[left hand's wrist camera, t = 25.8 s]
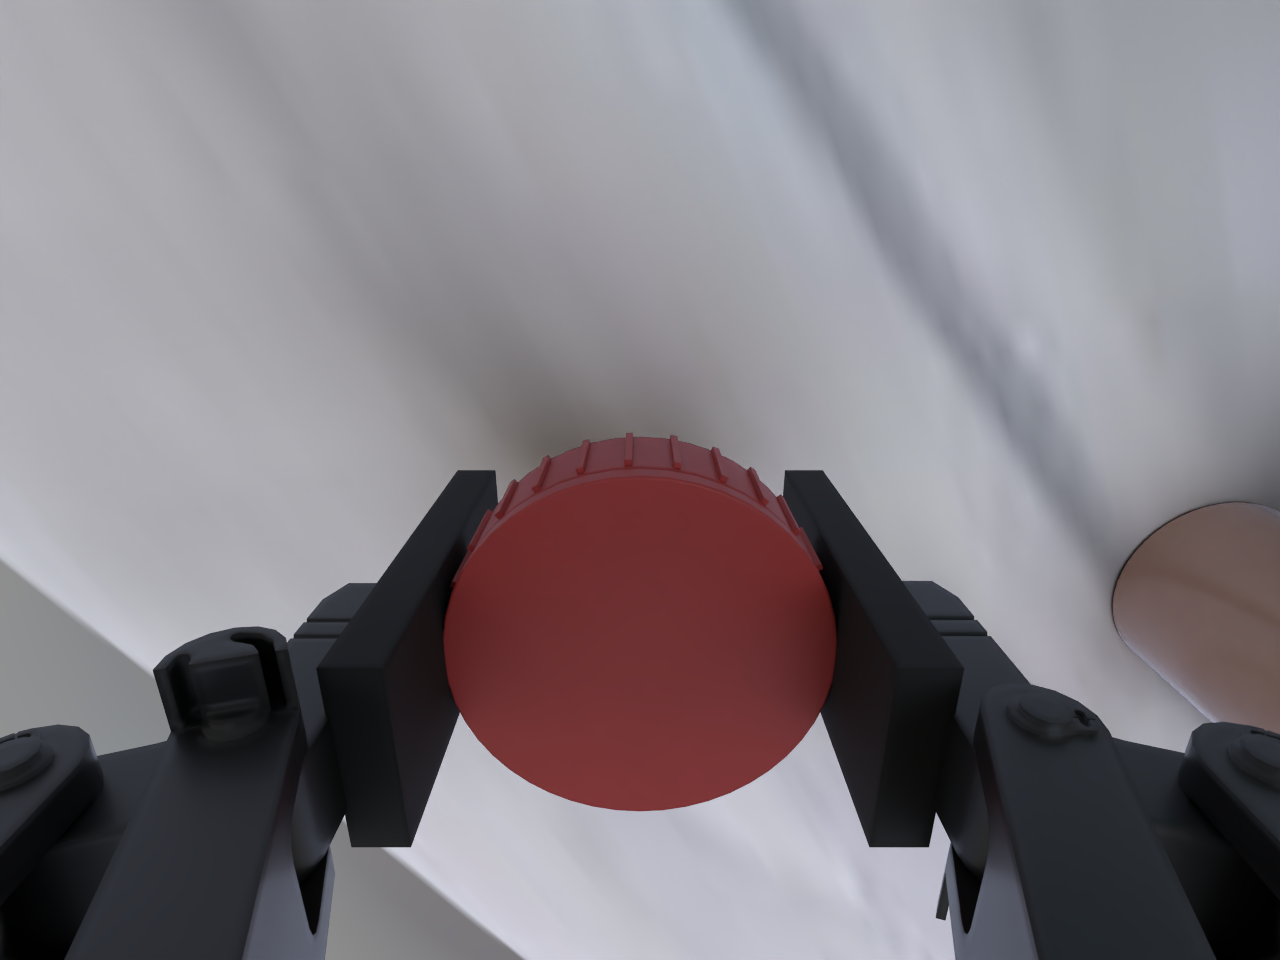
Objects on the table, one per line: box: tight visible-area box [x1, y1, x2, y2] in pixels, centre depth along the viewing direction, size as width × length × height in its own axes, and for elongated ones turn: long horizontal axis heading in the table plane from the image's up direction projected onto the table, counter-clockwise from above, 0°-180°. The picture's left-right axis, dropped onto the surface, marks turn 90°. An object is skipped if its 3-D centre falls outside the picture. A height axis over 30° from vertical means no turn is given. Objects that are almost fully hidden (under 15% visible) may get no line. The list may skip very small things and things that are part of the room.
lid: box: [443, 433, 837, 811], centre depth 11 cm, size 6×6×2 cm
